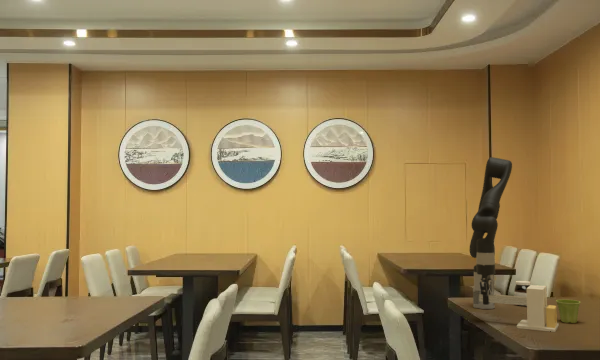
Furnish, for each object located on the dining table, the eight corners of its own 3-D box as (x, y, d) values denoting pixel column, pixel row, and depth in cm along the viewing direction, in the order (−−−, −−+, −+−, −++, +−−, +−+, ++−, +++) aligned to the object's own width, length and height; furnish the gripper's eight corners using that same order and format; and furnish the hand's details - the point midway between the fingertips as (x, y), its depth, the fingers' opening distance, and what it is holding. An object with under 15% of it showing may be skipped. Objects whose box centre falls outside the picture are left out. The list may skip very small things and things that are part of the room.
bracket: (516, 328, 213) (515, 287, 214) (521, 322, 224) (520, 284, 225) (555, 332, 206) (553, 290, 207) (558, 325, 217) (557, 286, 218)
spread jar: (518, 302, 271) (517, 279, 272) (541, 305, 264) (541, 281, 265) (512, 306, 261) (511, 282, 262) (536, 308, 255) (535, 284, 255)
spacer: (546, 327, 210) (546, 308, 211) (548, 323, 217) (548, 305, 217) (555, 327, 209) (554, 308, 209) (556, 324, 215) (556, 305, 216)
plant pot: (571, 325, 218) (571, 303, 219) (551, 321, 227) (551, 300, 227) (586, 322, 223) (585, 301, 223) (566, 318, 231) (565, 298, 231)
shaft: (473, 303, 226) (473, 292, 227) (476, 302, 231) (475, 290, 231) (534, 309, 214) (533, 296, 214) (535, 307, 218) (535, 294, 219)
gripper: (480, 261, 235) (481, 300, 234) (472, 264, 223) (473, 305, 222) (498, 262, 231) (499, 302, 230) (491, 265, 219) (492, 307, 218)
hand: (486, 303), depth 226 cm, fingers closed on shaft, 3 cm apart
